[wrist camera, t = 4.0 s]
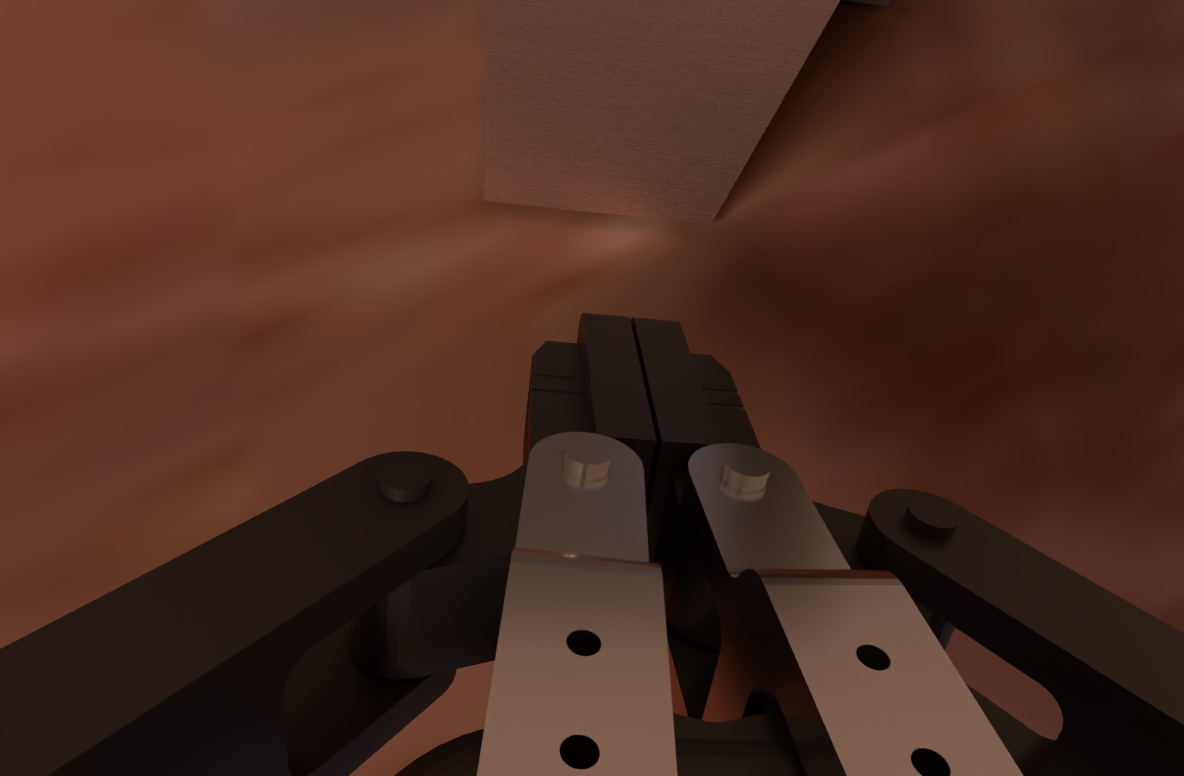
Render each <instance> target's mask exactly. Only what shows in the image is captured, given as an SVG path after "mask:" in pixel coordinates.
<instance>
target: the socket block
mask: <svg viewBox="0 0 1184 776" xmlns="http://www.w3.org/2000/svg"><path fill="white" fill-rule="evenodd" d="M846 1H853V2H861V3H868V4H875V5H883V6H888V5H889V4H890V2H891V1H892V0H846Z"/></svg>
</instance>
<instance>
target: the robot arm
mask: <svg viewBox="0 0 1184 776" xmlns="http://www.w3.org/2000/svg"><path fill="white" fill-rule="evenodd" d="M955 627H956V628H957V629H959V630H960V631H962V632H963V633H965V634H966V635H968V636H969V637H971V638H972V639H974V640H975V641H977V642H978V643H980V644H981V645H983V646H984V647H986V648H987V649H989V650H990V651H992V652H993V653H995V654H996V655H998V656H999V657H1001V658H1002V659H1004V660H1005V661H1007V662H1008V663H1010V664H1011V665H1013V666H1014V667H1016V668H1017V669H1019V670H1020V671H1022V672H1023V673H1025V674H1026V675H1028V676H1029V677H1031V678H1032V679H1034V680H1035V681H1037V682H1038V683H1040V684H1041V685H1042V686H1044V687H1045V688H1046V689H1047V690H1048V691H1049V692H1050V693H1051V694H1052V695H1053V697H1054V698H1055V699H1056V701H1057V702H1058V704H1059V706H1060V708H1061V711H1062V715H1063V728H1062V730H1061V732H1060V734H1059V736H1058V738H1057V739H1056V740H1051V739H1048V738H1045V737H1043V736H1040V735H1039V734H1037V733H1035V732H1034V731H1032V730H1031V729H1030V728H1028V727H1027V726H1025V725H1024V724H1023V723H1021V722H1020V721H1018V720H1017V719H1015V718H1014V717H1013V716H1011V715H1010V714H1008V713H1007V712H1005V711H1004V710H1003V709H1001V708H1000V707H998V706H997V705H996V704H994V703H993V702H991V701H990V700H988V699H987V698H986V697H984V696H983V695H981V694H980V693H979V692H977V691H976V690H974V689H973V688H971V687H970V686H969V685H967V684H966V683H965V682H964V681H963V679H962V678H961V676H960V674H959V673H958V671H957V670H956V668H955V667H954V665H953V663H952V662H951V660H950V659H949V657H948V656H947V654H946V652H945V649H946V647H947V645H948V642H949V640H950V638H951V636H952V633H953V631H954V629H955ZM494 660H495V663H494V669H493V676H492V682H491V688H490V695H489V701H488V708H487V714H486V720H485V727H484V729H481V730H478V731H475V732H471V733H468V734H465V735H462V736H460V737H457V738H455V739H453V740H451V741H448V742H446V743H444V744H441V745H439V746H438V747H436V748H434V749H432V750H431V751H429V752H427V753H426V754H424V755H422V756H420V757H419V758H417V759H416V760H415V761H413V762H412V763H410V764H409V765H408V766H406V767H405V768H404V769H402V770H401V771H400V772H398V773H397V774H396V775H394V776H1184V634H1183V633H1181V632H1180V631H1178V630H1176V629H1174V628H1172V627H1171V626H1169V625H1167V624H1165V623H1164V622H1162V621H1160V620H1158V619H1157V618H1155V617H1153V616H1151V615H1150V614H1148V613H1146V612H1144V611H1143V610H1141V609H1139V608H1137V607H1136V606H1134V605H1132V604H1130V603H1129V602H1127V601H1125V600H1123V599H1122V598H1120V597H1118V596H1116V595H1115V594H1113V593H1111V592H1109V591H1108V590H1106V589H1104V588H1102V587H1101V586H1099V585H1097V584H1095V583H1093V582H1092V581H1090V580H1088V579H1086V578H1085V577H1083V576H1081V575H1079V574H1078V573H1076V572H1074V571H1072V570H1071V569H1069V568H1067V567H1065V566H1064V565H1062V564H1060V563H1058V562H1057V561H1055V560H1053V559H1051V558H1050V557H1048V556H1046V555H1044V554H1043V553H1041V552H1039V551H1037V550H1036V549H1034V548H1032V547H1030V546H1029V545H1027V544H1025V543H1023V542H1021V541H1020V540H1018V539H1016V538H1014V537H1013V536H1011V535H1009V534H1007V533H1006V532H1004V531H1002V530H1000V529H999V528H997V527H995V526H993V525H992V524H990V523H988V522H986V521H985V520H983V519H981V518H979V517H978V516H976V515H974V514H972V513H971V512H969V511H967V510H965V509H964V508H962V507H960V506H958V505H956V504H954V503H953V502H951V501H949V500H946V499H944V498H942V497H939V496H936V495H933V494H930V493H926V492H922V491H918V490H911V489H892V490H887V491H884V492H881V493H879V494H877V495H876V496H875V497H874V498H873V499H872V500H871V502H870V505H869V508H868V511H867V513H866V516H862V515H858V514H855V513H851V512H847V511H844V510H840V509H836V508H833V507H829V506H826V505H822V504H819V503H816V502H814V501H812V500H811V498H810V497H809V495H808V493H807V491H806V490H805V488H804V486H803V484H802V483H801V481H800V479H799V477H798V476H797V474H796V473H795V472H794V470H793V469H792V468H791V467H790V466H789V465H788V464H786V463H785V462H784V461H783V460H781V459H779V458H778V457H776V456H774V455H772V454H770V453H768V452H766V451H763V450H761V448H760V446H759V443H758V441H757V438H756V436H755V433H754V431H753V428H752V426H751V423H750V421H749V418H748V416H747V414H746V411H745V410H743V404H742V401H741V399H740V396H739V394H737V389H736V386H735V384H734V381H733V379H732V377H731V374H730V372H729V371H728V370H726V369H725V368H724V367H723V366H722V365H721V364H720V363H718V362H717V361H716V360H715V359H714V358H713V357H712V356H710V355H703V354H691V353H690V351H689V348H688V345H687V342H686V339H685V336H684V333H683V330H682V327H681V325H680V323H679V322H677V321H667V320H656V319H645V318H634V317H632V318H631V320H630V318H629V317H622V316H611V315H600V314H589V313H582V315H581V318H580V324H579V330H578V338H577V344H576V343H565V342H554V341H546V342H545V343H544V344H543V345H542V346H541V347H540V348H539V349H538V350H537V351H536V352H535V353H534V354H533V355H532V363H531V373H530V383H529V393H528V402H527V412H526V422H525V432H524V446H523V465H522V466H521V467H520V468H518V469H517V470H516V471H514V472H512V473H511V474H508V475H506V476H504V477H501V478H498V479H495V480H491V481H486V482H480V483H473V484H468V481H467V478H466V476H465V475H464V474H463V472H462V471H461V470H460V469H459V468H458V467H457V466H455V465H454V464H452V463H451V462H449V461H447V460H445V459H443V458H440V457H437V456H434V455H431V454H426V453H421V452H404V451H401V452H390V453H385V454H380V455H376V456H373V457H370V458H368V459H365V460H363V461H361V462H359V463H357V464H355V465H353V466H351V467H350V468H348V469H346V470H344V471H342V472H340V473H338V474H336V475H334V476H332V477H330V478H328V479H326V480H325V481H323V482H321V483H319V484H317V485H315V486H313V487H311V488H309V489H307V490H305V491H303V492H301V493H300V494H298V495H296V496H294V497H292V498H290V499H288V500H286V501H284V502H282V503H280V504H278V505H276V506H275V507H273V508H271V509H269V510H267V511H265V512H263V513H261V514H259V515H257V516H255V517H253V518H252V519H250V520H248V521H246V522H244V523H242V524H240V525H238V526H236V527H234V528H232V529H230V530H228V531H227V532H225V533H223V534H221V535H219V536H217V537H215V538H213V539H211V540H209V541H207V542H205V543H203V544H202V545H200V546H198V547H196V548H194V549H192V550H190V551H188V552H186V553H184V554H182V555H180V556H178V557H177V558H175V559H173V560H171V561H169V562H167V563H165V564H163V565H161V566H159V567H157V568H155V569H153V570H152V571H150V572H148V573H146V574H144V575H142V576H140V577H138V578H136V579H134V580H132V581H130V582H128V583H127V584H125V585H123V586H121V587H119V588H117V589H115V590H113V591H111V592H109V593H107V594H105V595H103V596H102V597H100V598H98V599H96V600H94V601H92V602H90V603H88V604H86V605H84V606H82V607H80V608H78V609H77V610H75V611H73V612H71V613H69V614H67V615H65V616H63V617H61V618H59V619H57V620H55V621H53V622H52V623H50V624H48V625H46V626H44V627H42V628H40V629H38V630H36V631H34V632H32V633H30V634H28V635H27V636H25V637H23V638H21V639H19V640H17V641H15V642H13V643H11V644H9V645H7V646H5V647H4V648H2V649H0V776H349V775H350V774H351V773H352V772H353V771H355V770H356V769H357V768H358V767H359V766H360V765H361V764H363V763H364V762H365V761H366V760H367V759H368V758H370V757H371V756H372V755H373V754H374V753H375V752H377V751H378V750H379V749H380V748H381V747H382V746H383V745H385V744H386V743H387V742H388V741H389V740H390V739H392V738H393V737H394V736H395V735H396V734H397V733H399V732H400V731H401V730H402V729H403V728H404V727H405V726H407V725H408V724H409V723H410V722H411V721H412V720H414V719H415V718H416V717H417V716H418V715H419V714H421V713H422V712H423V711H424V710H425V709H426V708H427V707H429V706H430V705H431V704H432V703H433V702H434V701H436V700H437V699H438V698H439V697H440V696H441V695H442V694H443V693H444V692H445V691H446V690H447V689H448V688H449V686H450V685H451V684H452V682H453V680H454V677H455V675H456V669H458V668H463V667H467V666H471V665H476V664H480V663H485V662H489V661H494Z"/></svg>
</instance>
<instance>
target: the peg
mask: <svg viewBox="0 0 1184 776" xmlns="http://www.w3.org/2000/svg"><path fill="white" fill-rule="evenodd" d="M839 2H840V0H486V40H485V124H484V201H492V202H501V203H511V204H520V205H530V206H539V207H549V208H559V209H568V210H578V211H587V212H597V213H606V214H616V215H626V216H635V217H645V218H654V219H664V220H673V221H683V222H693V223H702V224H712V222H713V220H714V218H715V217H716V215H717V213H718V211H719V210H720V208H721V206H722V204H723V203H724V201H725V199H726V198H727V196H728V194H729V192H730V191H731V189H732V187H733V185H734V184H735V182H736V180H737V178H738V177H739V175H740V173H741V172H742V170H743V168H744V166H745V165H746V163H747V161H748V159H749V158H750V156H751V154H752V152H753V151H754V149H755V147H756V146H757V144H758V142H759V140H760V139H761V137H762V135H763V133H764V132H765V130H766V128H767V126H768V125H769V123H770V121H771V120H772V118H773V116H774V114H775V113H776V111H777V109H778V107H779V106H780V104H781V102H782V100H783V99H784V97H785V95H786V93H787V92H788V90H789V88H790V87H791V85H792V83H793V81H794V80H795V78H796V76H797V74H798V73H799V71H800V69H801V67H802V66H803V64H804V62H805V61H806V59H807V57H808V55H809V54H810V52H811V50H812V48H813V47H814V45H815V43H816V41H817V40H818V38H819V36H820V35H821V33H822V31H823V29H824V28H825V26H826V24H827V22H828V21H829V19H830V17H831V15H832V14H833V12H834V10H835V9H836V7H837V5H838V3H839Z"/></svg>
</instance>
